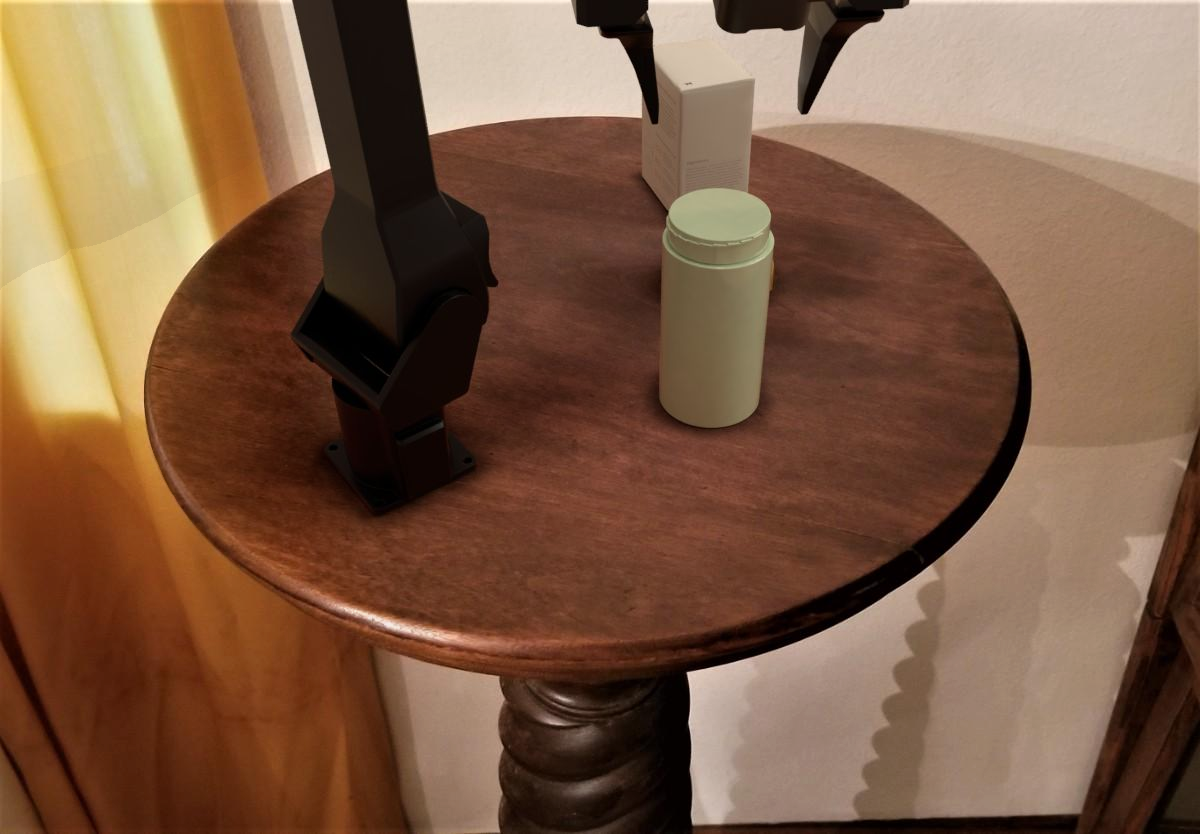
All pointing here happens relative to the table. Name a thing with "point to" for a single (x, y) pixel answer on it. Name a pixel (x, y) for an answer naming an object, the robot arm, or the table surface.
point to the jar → (714, 306)
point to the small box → (698, 121)
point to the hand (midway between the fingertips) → (728, 116)
